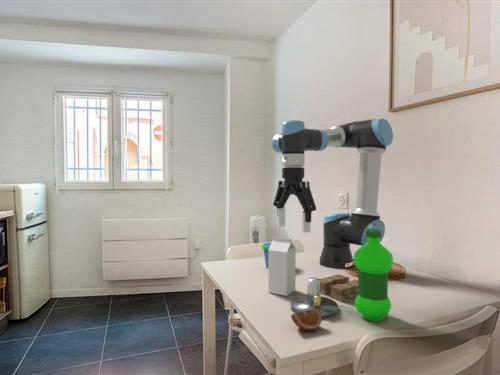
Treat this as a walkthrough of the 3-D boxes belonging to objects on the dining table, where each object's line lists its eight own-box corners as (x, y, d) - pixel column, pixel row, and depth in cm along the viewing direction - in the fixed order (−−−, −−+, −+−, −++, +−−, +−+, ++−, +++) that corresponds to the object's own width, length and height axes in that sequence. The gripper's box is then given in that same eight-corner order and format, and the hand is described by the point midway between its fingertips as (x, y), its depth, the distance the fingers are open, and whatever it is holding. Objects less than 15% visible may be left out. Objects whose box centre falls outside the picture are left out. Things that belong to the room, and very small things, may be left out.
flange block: (339, 284, 124) (339, 274, 124) (366, 294, 114) (366, 283, 114) (315, 291, 117) (315, 279, 117) (341, 302, 107) (341, 289, 107)
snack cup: (258, 263, 154) (258, 241, 154) (280, 262, 156) (280, 240, 156) (267, 273, 139) (267, 248, 138) (291, 271, 141) (291, 247, 141)
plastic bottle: (364, 307, 103) (365, 226, 102) (398, 318, 95) (400, 230, 94) (346, 316, 97) (347, 230, 96) (381, 328, 89) (382, 235, 88)
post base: (314, 296, 112) (314, 270, 112) (347, 311, 100) (347, 281, 100) (281, 305, 104) (281, 277, 104) (312, 322, 93) (312, 290, 92)
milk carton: (286, 296, 112) (286, 240, 111) (268, 292, 116) (268, 238, 115) (295, 290, 118) (295, 236, 117) (277, 286, 122) (277, 235, 121)
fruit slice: (298, 337, 84) (298, 317, 84) (285, 326, 91) (285, 308, 90) (326, 330, 88) (326, 312, 88) (311, 320, 94) (311, 303, 94)
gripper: (263, 167, 122) (264, 225, 123) (309, 166, 101) (309, 236, 102) (280, 167, 126) (280, 223, 127) (327, 166, 105) (327, 233, 106)
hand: (293, 229), depth 115 cm, fingers open, 13 cm apart
